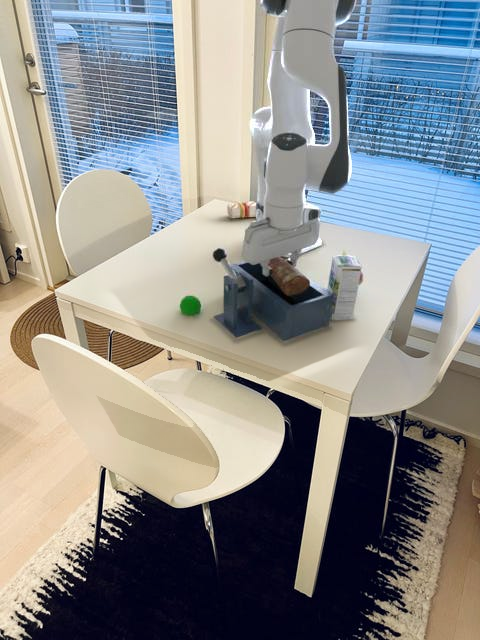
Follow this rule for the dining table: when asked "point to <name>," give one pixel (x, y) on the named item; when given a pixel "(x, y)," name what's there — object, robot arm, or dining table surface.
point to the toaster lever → (229, 268)
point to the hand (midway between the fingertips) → (279, 270)
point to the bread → (288, 277)
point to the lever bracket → (238, 318)
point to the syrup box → (344, 286)
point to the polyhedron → (190, 305)
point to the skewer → (242, 210)
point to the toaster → (286, 304)
